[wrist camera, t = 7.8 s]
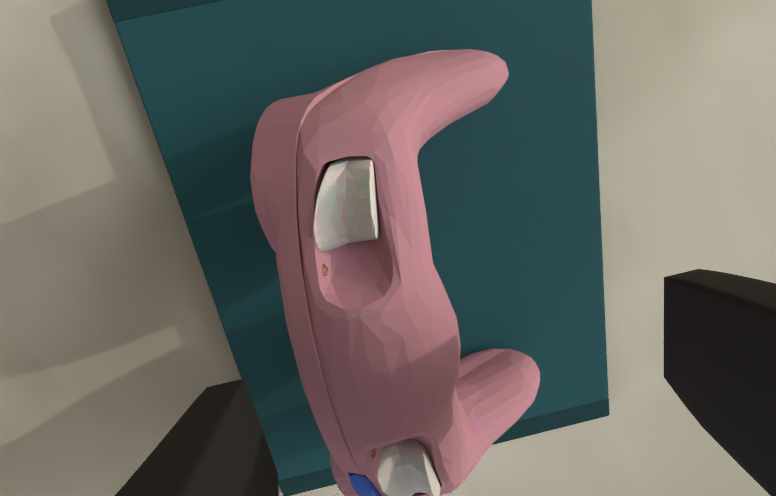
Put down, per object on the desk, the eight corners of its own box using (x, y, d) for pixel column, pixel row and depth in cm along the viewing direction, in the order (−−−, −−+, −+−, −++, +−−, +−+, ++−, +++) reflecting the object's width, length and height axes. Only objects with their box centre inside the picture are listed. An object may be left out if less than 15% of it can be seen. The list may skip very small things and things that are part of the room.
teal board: (284, 489, 17) (284, 497, 17) (106, -11, 12) (101, -12, 11) (604, 409, 18) (609, 415, 18) (581, -105, 12) (587, -109, 12)
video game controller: (335, 63, 14) (149, 120, 8) (511, 29, 12) (437, 69, 6) (403, 370, 18) (310, 564, 12) (545, 376, 16) (519, 607, 10)
